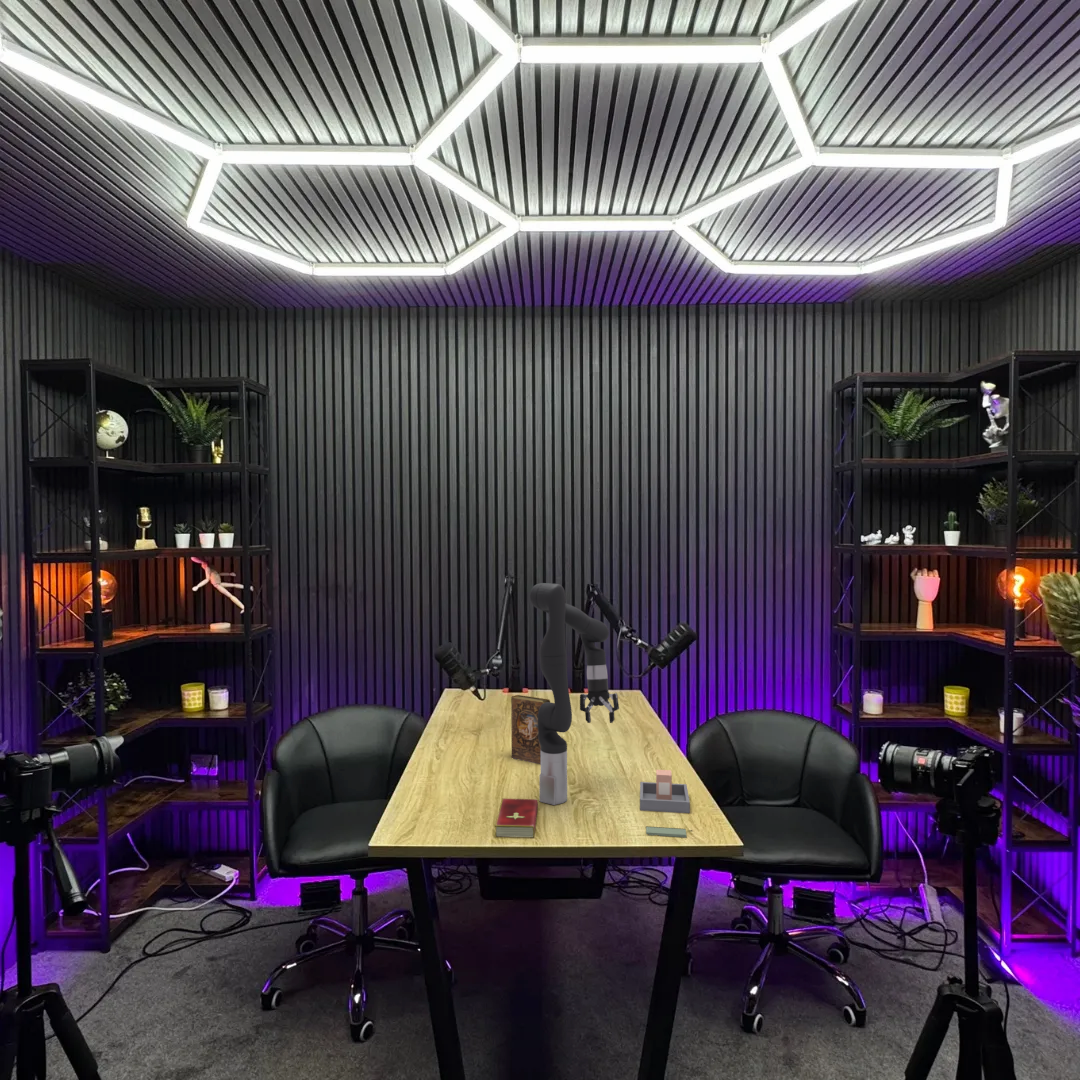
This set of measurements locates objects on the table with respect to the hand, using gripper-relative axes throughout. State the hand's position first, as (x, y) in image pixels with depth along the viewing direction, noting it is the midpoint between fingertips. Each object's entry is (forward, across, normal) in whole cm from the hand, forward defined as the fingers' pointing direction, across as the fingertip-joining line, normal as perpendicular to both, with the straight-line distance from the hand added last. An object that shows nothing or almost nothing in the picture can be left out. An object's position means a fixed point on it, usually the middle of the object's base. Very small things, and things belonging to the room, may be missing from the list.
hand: (600, 722), depth 245 cm
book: (+17, -37, +19) cm, 45 cm away
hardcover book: (+26, -18, -37) cm, 49 cm away
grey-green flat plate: (+29, +26, -24) cm, 46 cm away
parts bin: (+26, +23, -7) cm, 35 cm away
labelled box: (+25, +23, -7) cm, 35 cm away
